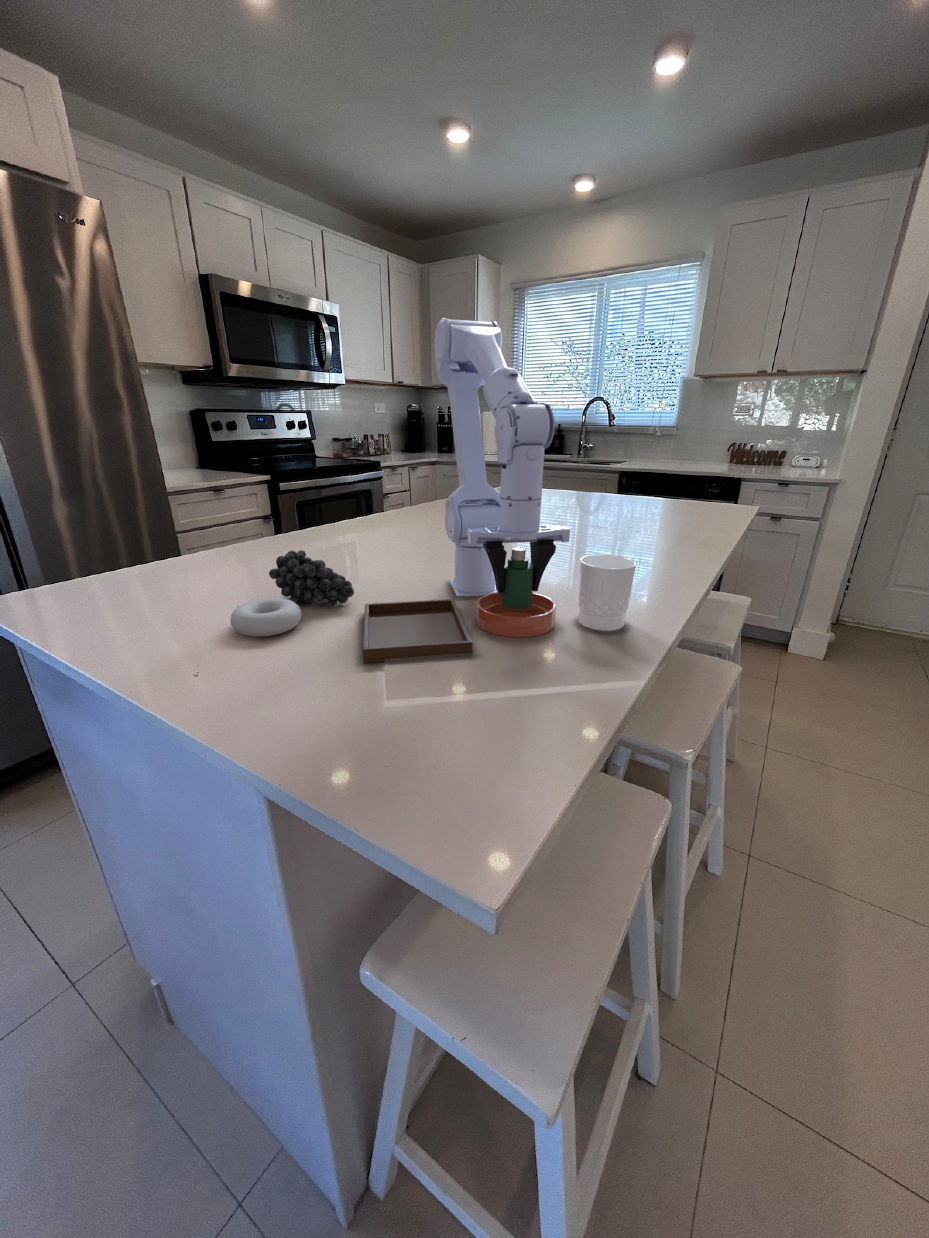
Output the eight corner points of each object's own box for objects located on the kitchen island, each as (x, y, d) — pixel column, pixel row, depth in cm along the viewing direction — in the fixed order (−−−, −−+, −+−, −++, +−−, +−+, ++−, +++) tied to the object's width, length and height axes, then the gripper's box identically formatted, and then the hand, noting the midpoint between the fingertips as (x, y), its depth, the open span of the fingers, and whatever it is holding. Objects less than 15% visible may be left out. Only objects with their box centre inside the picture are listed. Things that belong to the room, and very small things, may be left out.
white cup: (629, 637, 74) (639, 570, 70) (574, 632, 75) (580, 567, 71) (625, 617, 81) (633, 556, 77) (574, 613, 82) (580, 553, 78)
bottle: (497, 599, 78) (499, 545, 75) (526, 598, 79) (529, 544, 76) (504, 610, 74) (507, 553, 71) (535, 608, 75) (538, 552, 72)
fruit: (358, 551, 82) (286, 540, 88) (329, 579, 77) (253, 566, 82) (370, 593, 88) (301, 580, 93) (344, 623, 82) (272, 607, 88)
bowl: (470, 613, 82) (470, 592, 81) (540, 609, 84) (541, 589, 83) (485, 643, 71) (485, 620, 70) (565, 637, 73) (567, 615, 72)
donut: (269, 646, 70) (316, 620, 79) (265, 623, 69) (314, 599, 77) (217, 634, 74) (268, 610, 83) (212, 612, 73) (264, 590, 81)
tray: (365, 615, 81) (364, 603, 80) (453, 610, 83) (453, 598, 83) (364, 663, 65) (362, 649, 65) (472, 655, 68) (472, 642, 67)
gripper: (474, 503, 66) (473, 601, 71) (581, 500, 68) (572, 596, 73) (465, 495, 72) (465, 586, 77) (563, 493, 74) (556, 581, 80)
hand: (516, 590), depth 76 cm, fingers closed on bottle, 4 cm apart
